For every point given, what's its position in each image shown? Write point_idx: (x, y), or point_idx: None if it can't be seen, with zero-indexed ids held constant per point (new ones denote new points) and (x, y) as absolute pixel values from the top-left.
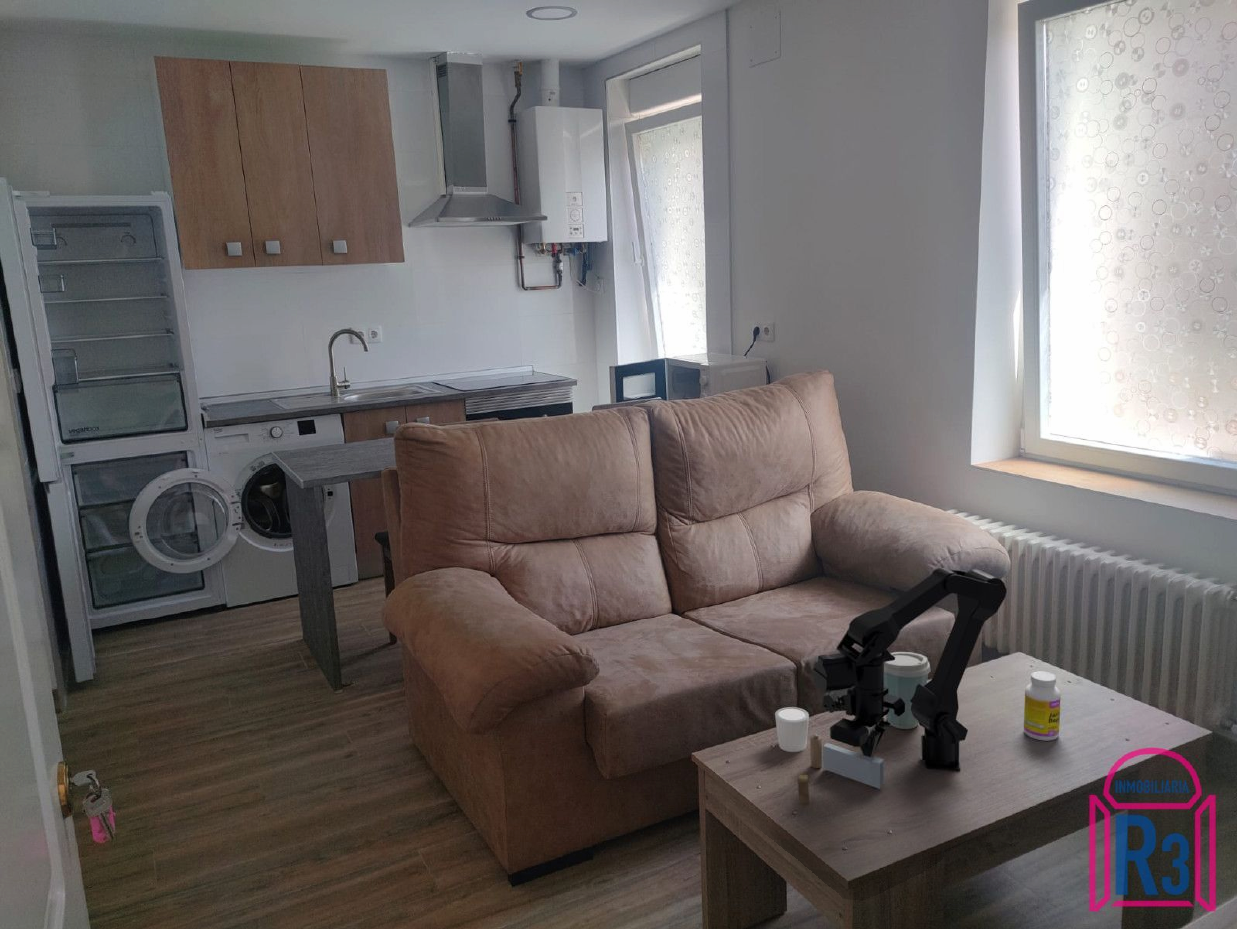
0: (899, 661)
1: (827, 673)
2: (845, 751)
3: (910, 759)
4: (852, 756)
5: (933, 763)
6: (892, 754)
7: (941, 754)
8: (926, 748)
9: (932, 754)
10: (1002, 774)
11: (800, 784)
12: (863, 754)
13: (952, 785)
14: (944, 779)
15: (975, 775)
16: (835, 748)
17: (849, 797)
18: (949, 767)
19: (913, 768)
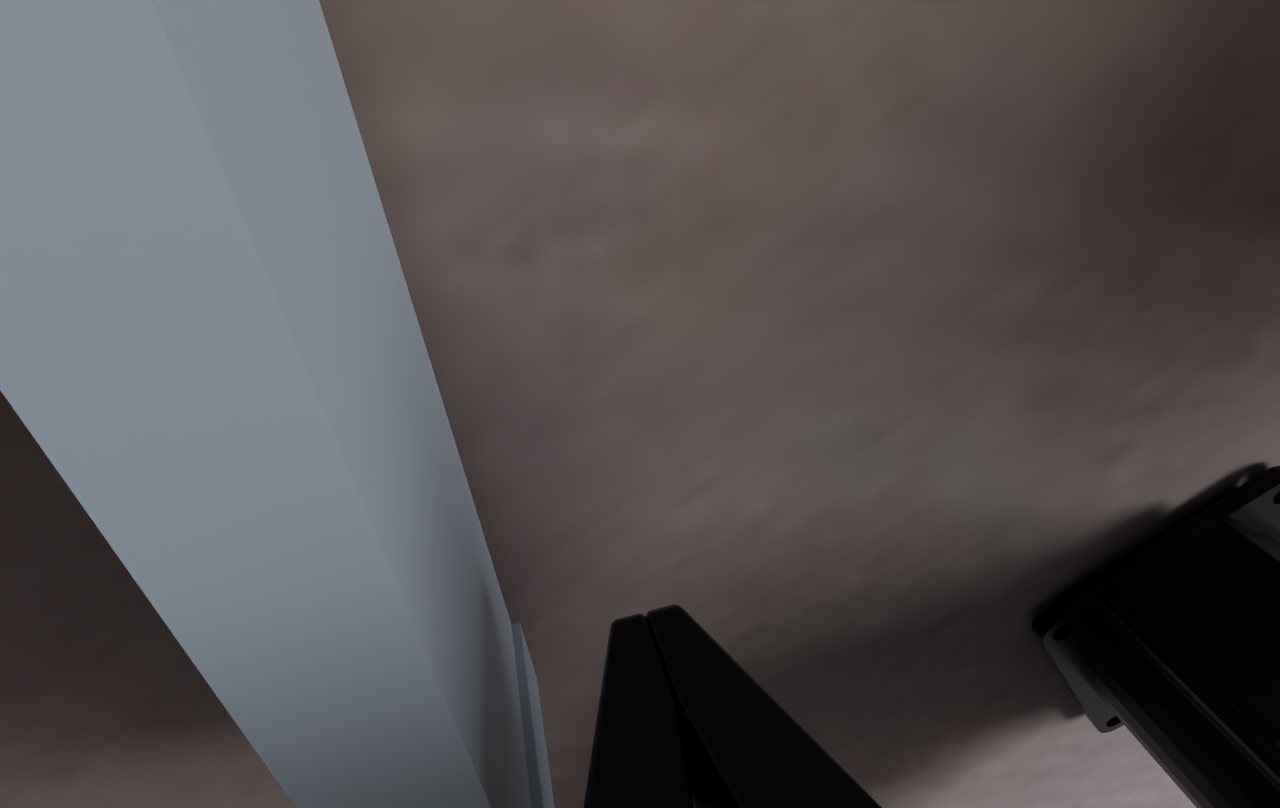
0: None
1: None
2: (285, 632)
3: (1129, 466)
4: (290, 780)
5: (1097, 646)
6: (1168, 310)
7: (1166, 770)
8: (1217, 713)
9: (1163, 708)
10: (1136, 799)
11: None
12: (603, 700)
13: (898, 788)
14: (944, 736)
15: (1073, 766)
16: (116, 394)
17: (55, 622)
18: (1087, 708)
19: (990, 566)
